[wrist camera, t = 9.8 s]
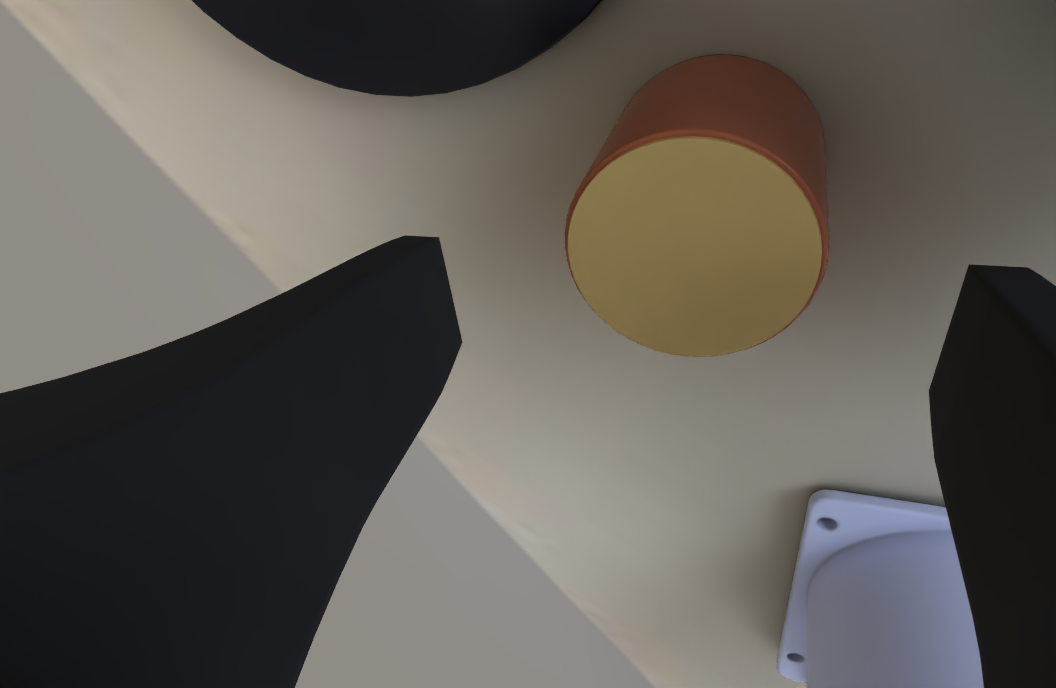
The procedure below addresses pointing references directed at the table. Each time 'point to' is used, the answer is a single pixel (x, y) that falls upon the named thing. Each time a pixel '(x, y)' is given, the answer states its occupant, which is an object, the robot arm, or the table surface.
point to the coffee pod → (704, 210)
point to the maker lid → (400, 38)
